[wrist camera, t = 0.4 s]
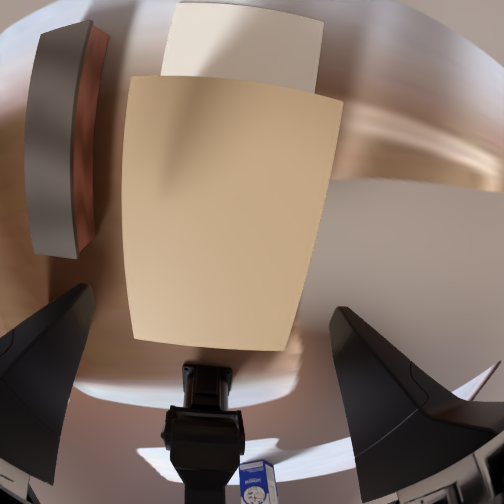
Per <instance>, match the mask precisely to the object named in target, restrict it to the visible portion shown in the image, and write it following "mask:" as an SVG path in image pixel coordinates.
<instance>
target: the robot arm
mask: <svg viewBox="0 0 504 504" xmlns="http://www.w3.org/2000/svg"><path fill="white" fill-rule="evenodd" d="M94 310H95V299H94V295H93V291H92V287H91V286H90V285H89V284H84V283H80V284H78V285H76V286H75V287H73V288H72V289H70V290H69V291H67V292H66V293H64V294H63V295H61V296H60V297H58V298H57V299H55V300H54V301H52V302H51V303H49V304H48V305H46V306H45V307H43V308H42V309H40V310H39V311H37V312H36V313H34V314H33V315H32V316H30V317H29V318H27V319H26V320H24V321H23V322H22V323H20V324H19V325H17V326H16V327H15V328H14V329H12V330H11V331H9V332H8V333H7V334H5V335H4V336H2V337H1V338H0V504H40V502H39V500H38V499H37V497H36V495H35V493H34V492H33V490H32V488H31V486H30V484H29V480H30V475H31V476H33V477H35V478H37V479H39V480H41V481H43V482H45V483H47V484H50V485H52V486H53V483H54V475H55V467H56V460H57V454H58V448H59V442H60V436H61V431H62V426H63V421H64V417H65V413H66V408H67V405H68V401H69V397H70V393H71V389H72V386H73V382H74V379H75V375H76V372H77V369H78V366H79V363H80V359H81V356H82V353H83V350H84V347H85V344H86V341H87V337H88V333H89V329H90V325H91V321H92V317H93V313H94ZM329 331H330V338H331V345H332V353H333V359H334V365H335V369H336V373H337V377H338V381H339V386H340V390H341V394H342V398H343V403H344V407H345V412H346V417H347V422H348V426H349V431H350V436H351V441H352V446H353V452H354V457H355V463H356V468H357V475H358V480H359V487H360V493H361V499H362V503H365V502H369V501H372V500H375V499H378V498H381V497H384V496H387V495H389V494H392V493H395V492H396V493H397V496H398V500H395V501H393V502H390V503H388V504H504V402H478V401H466V400H463V399H460V398H458V397H457V396H455V395H454V394H453V393H451V392H450V391H448V390H447V389H446V388H444V387H443V386H442V385H440V384H439V383H438V382H436V381H435V380H434V379H432V378H431V377H430V376H428V375H427V374H426V373H424V371H422V370H421V369H420V368H419V367H418V366H416V365H415V364H414V363H413V362H412V361H410V360H409V359H408V358H407V357H406V356H405V355H404V354H403V353H401V352H400V351H399V350H398V349H397V348H396V347H394V346H393V345H392V344H391V343H390V342H389V341H387V340H386V339H385V338H384V337H383V336H382V335H380V334H379V333H378V332H377V331H376V330H375V329H373V328H372V327H371V326H370V325H369V324H367V323H366V322H365V321H364V320H363V319H362V318H360V317H359V316H358V315H357V314H356V313H354V312H353V311H352V310H351V309H350V308H348V307H346V306H339V307H337V308H336V309H335V311H334V313H333V316H332V318H331V320H330V323H329ZM182 372H183V388H184V393H185V394H184V404H183V407H176V406H173V405H171V406H170V410H168V411H167V413H166V420H165V424H164V427H163V429H162V432H161V438H162V439H163V440H164V443H165V446H166V450H169V451H170V461H171V463H172V464H173V466H174V468H175V470H176V471H177V473H178V474H179V476H180V478H181V479H182V481H183V483H184V484H185V504H225V503H226V502H225V486H226V485H227V483H228V482H229V480H230V479H231V477H232V476H233V474H234V473H235V471H236V470H237V468H238V467H239V465H240V455H244V452H245V433H244V426H243V420H242V414H241V411H240V410H237V411H228V396H229V390H230V384H231V378H232V369H231V368H223V367H209V366H197V365H187V364H185V365H183V367H182Z"/></svg>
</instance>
